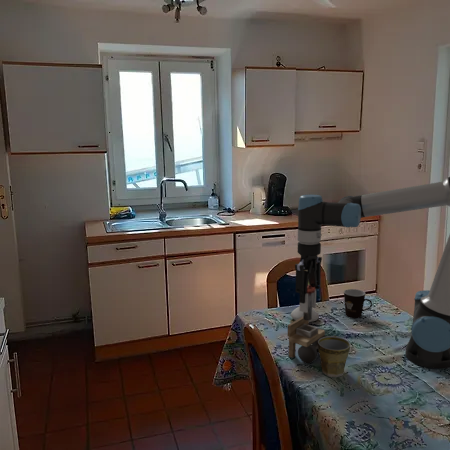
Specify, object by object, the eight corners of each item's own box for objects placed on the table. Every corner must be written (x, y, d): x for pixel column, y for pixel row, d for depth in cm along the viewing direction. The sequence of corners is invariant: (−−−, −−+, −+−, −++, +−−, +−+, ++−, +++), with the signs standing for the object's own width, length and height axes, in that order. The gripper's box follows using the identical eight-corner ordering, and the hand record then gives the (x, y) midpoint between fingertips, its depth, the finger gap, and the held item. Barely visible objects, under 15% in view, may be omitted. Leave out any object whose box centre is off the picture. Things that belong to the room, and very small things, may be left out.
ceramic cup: (348, 382, 140) (349, 352, 138) (315, 377, 143) (316, 347, 141) (349, 362, 153) (351, 334, 151) (319, 358, 155) (320, 330, 153)
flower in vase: (289, 313, 194) (290, 256, 189) (316, 314, 193) (318, 256, 189) (292, 326, 181) (293, 265, 176) (321, 326, 181) (323, 265, 176)
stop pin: (316, 318, 156) (317, 286, 154) (309, 322, 153) (310, 290, 151) (305, 315, 159) (305, 283, 157) (297, 319, 156) (298, 287, 153)
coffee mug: (338, 312, 194) (339, 290, 192) (356, 310, 197) (357, 288, 195) (354, 323, 183) (355, 299, 181) (372, 320, 186) (374, 297, 184)
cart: (330, 353, 159) (331, 321, 157) (313, 366, 150) (313, 333, 148) (305, 344, 165) (306, 314, 163) (287, 357, 156) (287, 325, 154)
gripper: (305, 248, 142) (303, 320, 146) (332, 238, 155) (330, 304, 159) (284, 245, 147) (283, 314, 151) (312, 235, 160) (311, 299, 164)
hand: (307, 309), depth 155 cm, fingers closed on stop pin, 5 cm apart
